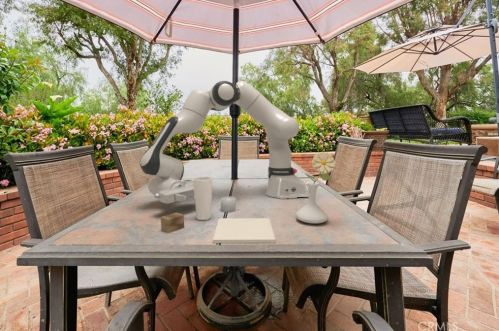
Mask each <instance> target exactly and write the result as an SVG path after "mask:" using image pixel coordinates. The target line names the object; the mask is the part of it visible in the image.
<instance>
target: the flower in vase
mask: <svg viewBox="0 0 499 331" xmlns="http://www.w3.org/2000/svg"><path fill="white" fill-rule="evenodd" d="M336 163H337V162H336V160H335V158H334V157H333V155H331V153H328V152H324V151H321V152H318V153H315V154H314V155H313V158H312V161H311V166H312V167H313V169H314V171H316V172H319V175H318V176H317V178H315V177H314V176H313V175H310V174H308V173H307V172H306V173H305V174H306V176H307V177H309V178H310V179H314V181H307V182H305V186H307V189H308V190H307V191H308V192H309V197H308V203H306V204H305V205H303V207H301V208H300V209H298V210H297V211H296V213H295V217H296V219H297V220H299V221H300V222H304V223H307V224H321V223H325V222H326V221H327V220H328V219H329V216H328V214H327V213H326V212H325V211H324V210H323V209H322V208H321V207H320V206H319V205H318V204H317V202H316V198H317V197H316V195H317V190H318V187H320V185H321V183H320V182H317V181H318V179H319V178H320V179H321V180H323V181H330V180H333V178H332V176H330V174H329V173H331V172H333V171H334V170H335V167H336Z"/></svg>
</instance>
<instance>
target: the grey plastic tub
mask: <svg viewBox="0 0 499 331" xmlns="http://www.w3.org/2000/svg"><path fill="white" fill-rule="evenodd" d="M236 211H237V210H236V197H234V196H222V197H220V212H222V213H234V212H236Z"/></svg>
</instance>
